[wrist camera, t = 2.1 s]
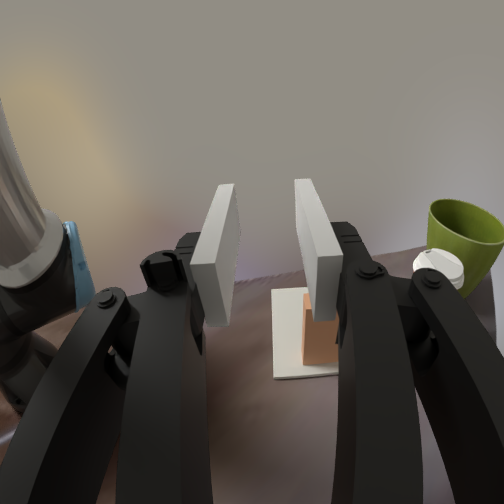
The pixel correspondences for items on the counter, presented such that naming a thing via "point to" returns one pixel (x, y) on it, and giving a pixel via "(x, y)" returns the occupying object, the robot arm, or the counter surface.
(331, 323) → the card box
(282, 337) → the mat
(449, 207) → the flower pot
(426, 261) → the paper cup
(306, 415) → the counter surface
